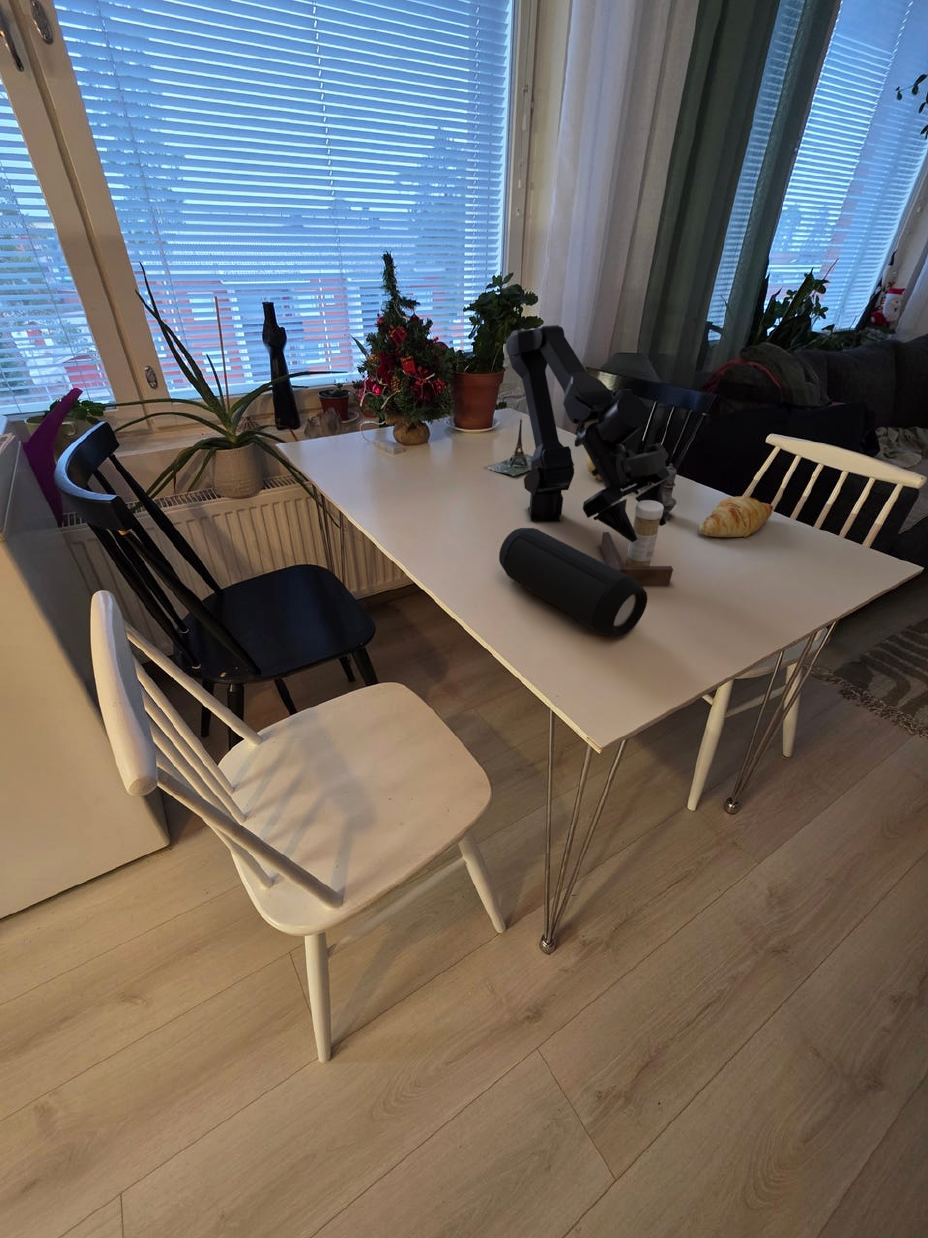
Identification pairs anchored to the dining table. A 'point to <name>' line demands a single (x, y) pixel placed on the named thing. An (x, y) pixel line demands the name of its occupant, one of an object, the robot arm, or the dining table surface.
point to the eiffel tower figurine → (515, 460)
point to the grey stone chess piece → (669, 492)
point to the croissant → (736, 517)
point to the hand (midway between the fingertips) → (649, 532)
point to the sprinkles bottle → (644, 533)
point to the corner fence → (639, 573)
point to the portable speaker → (573, 581)
